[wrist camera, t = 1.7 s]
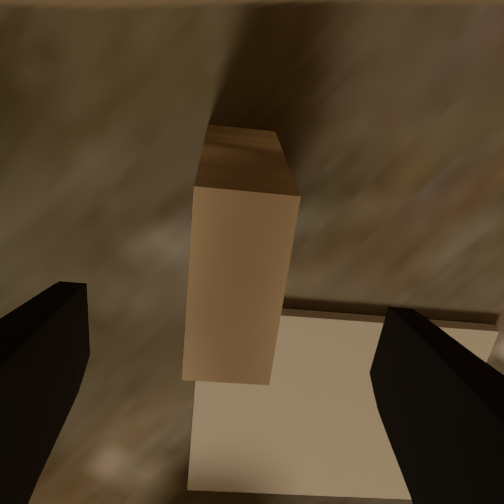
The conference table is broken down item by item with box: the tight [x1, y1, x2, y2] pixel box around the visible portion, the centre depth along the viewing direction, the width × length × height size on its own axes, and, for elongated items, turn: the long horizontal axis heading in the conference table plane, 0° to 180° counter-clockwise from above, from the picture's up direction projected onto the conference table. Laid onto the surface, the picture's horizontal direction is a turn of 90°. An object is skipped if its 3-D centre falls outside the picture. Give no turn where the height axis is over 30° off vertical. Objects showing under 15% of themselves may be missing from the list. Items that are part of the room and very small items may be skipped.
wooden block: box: [182, 124, 301, 385], centre depth 16 cm, size 3×6×8 cm, turn 173°
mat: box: [187, 308, 499, 499], centre depth 24 cm, size 14×12×1 cm
